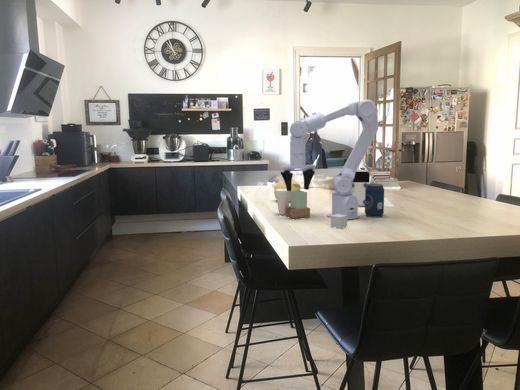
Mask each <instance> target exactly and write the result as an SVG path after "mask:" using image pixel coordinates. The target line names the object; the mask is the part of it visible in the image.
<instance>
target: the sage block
mask: <svg viewBox="0 0 520 390" xmlns="http://www.w3.org/2000/svg"><path fill="white" fill-rule="evenodd" d="M289 206H290V207H292V208H295V209H302V208H307V207H308V192H307V191H304V190H300V191H291V199H290V203H289Z"/></svg>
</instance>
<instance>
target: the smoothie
mask: <svg viewBox="0 0 520 390" xmlns="http://www.w3.org/2000/svg"><path fill="white" fill-rule="evenodd" d="M282 180H283V189H276V190H275V193H276V196H277V199H276V203H277V209H278V215H279V214H281V215H280V216H285V207H288V206H290V195H291V191H287V189H285V181H284V179H282Z"/></svg>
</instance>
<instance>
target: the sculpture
mask: <svg viewBox="0 0 520 390" xmlns="http://www.w3.org/2000/svg"><path fill="white" fill-rule="evenodd" d="M301 188H302V187H301V184H300V183H299V182H298V181H296V180H294V178H292V182H291V191H301ZM276 189H283V179H282V180H279V181H278V182H277V183H276V185H275V186H274V190H273V191H274V192H273V193H274V196H275V199H276V200H277V196H276V193H275V190H276ZM285 189H286V184H285ZM290 199H291V195H290Z"/></svg>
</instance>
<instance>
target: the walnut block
mask: <svg viewBox="0 0 520 390" xmlns="http://www.w3.org/2000/svg"><path fill="white" fill-rule="evenodd" d="M286 216H287V218H288V217H289V218H288V219H291V218H292V219H291V220H293V219H294V220H302V219H301V218H305V219H310V218H311V208H310V207H308V206H307V208H302V209H295V208H292V207H290V205H289V206H288V207H285V215H284V217H286Z"/></svg>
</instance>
